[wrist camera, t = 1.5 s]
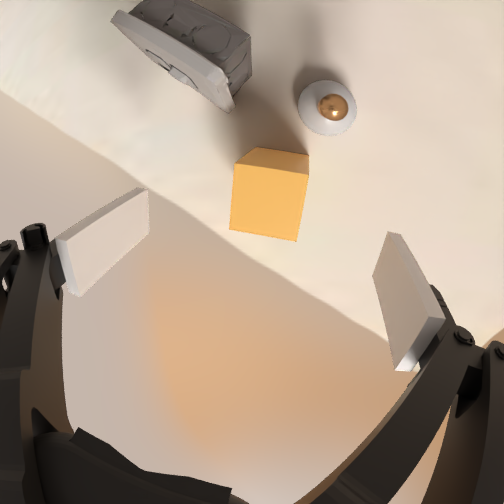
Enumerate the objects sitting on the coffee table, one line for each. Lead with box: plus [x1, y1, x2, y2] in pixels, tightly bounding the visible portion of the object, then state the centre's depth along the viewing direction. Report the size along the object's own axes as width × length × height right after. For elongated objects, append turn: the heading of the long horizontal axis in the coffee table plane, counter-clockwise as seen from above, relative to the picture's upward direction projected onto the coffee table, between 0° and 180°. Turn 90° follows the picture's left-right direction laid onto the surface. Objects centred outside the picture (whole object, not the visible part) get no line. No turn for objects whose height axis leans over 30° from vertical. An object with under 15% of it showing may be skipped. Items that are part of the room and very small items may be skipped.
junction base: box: [298, 80, 357, 136], centre depth 19 cm, size 4×4×2 cm
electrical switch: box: [111, 0, 252, 113], centre depth 15 cm, size 9×5×9 cm, turn 50°
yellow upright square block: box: [229, 147, 309, 242], centre depth 20 cm, size 4×4×7 cm
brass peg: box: [317, 94, 349, 121], centre depth 16 cm, size 2×2×6 cm
